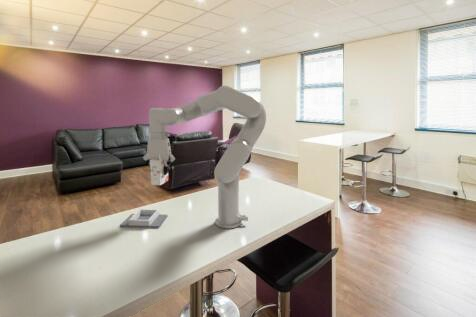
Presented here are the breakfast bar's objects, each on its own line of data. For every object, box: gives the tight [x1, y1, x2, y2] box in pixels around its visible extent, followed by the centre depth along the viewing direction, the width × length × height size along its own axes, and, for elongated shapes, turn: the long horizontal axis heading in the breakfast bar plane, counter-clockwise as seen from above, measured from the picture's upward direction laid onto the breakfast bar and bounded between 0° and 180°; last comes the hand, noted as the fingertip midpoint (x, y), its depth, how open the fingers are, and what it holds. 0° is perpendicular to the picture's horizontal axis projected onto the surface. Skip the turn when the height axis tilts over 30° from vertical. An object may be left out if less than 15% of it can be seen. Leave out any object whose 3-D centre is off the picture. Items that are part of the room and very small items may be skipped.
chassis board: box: [119, 208, 169, 229], centre depth 130 cm, size 18×13×4 cm
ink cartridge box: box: [149, 153, 169, 186], centre depth 128 cm, size 9×5×15 cm, turn 167°
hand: (159, 173), depth 128 cm, fingers closed on ink cartridge box, 5 cm apart
